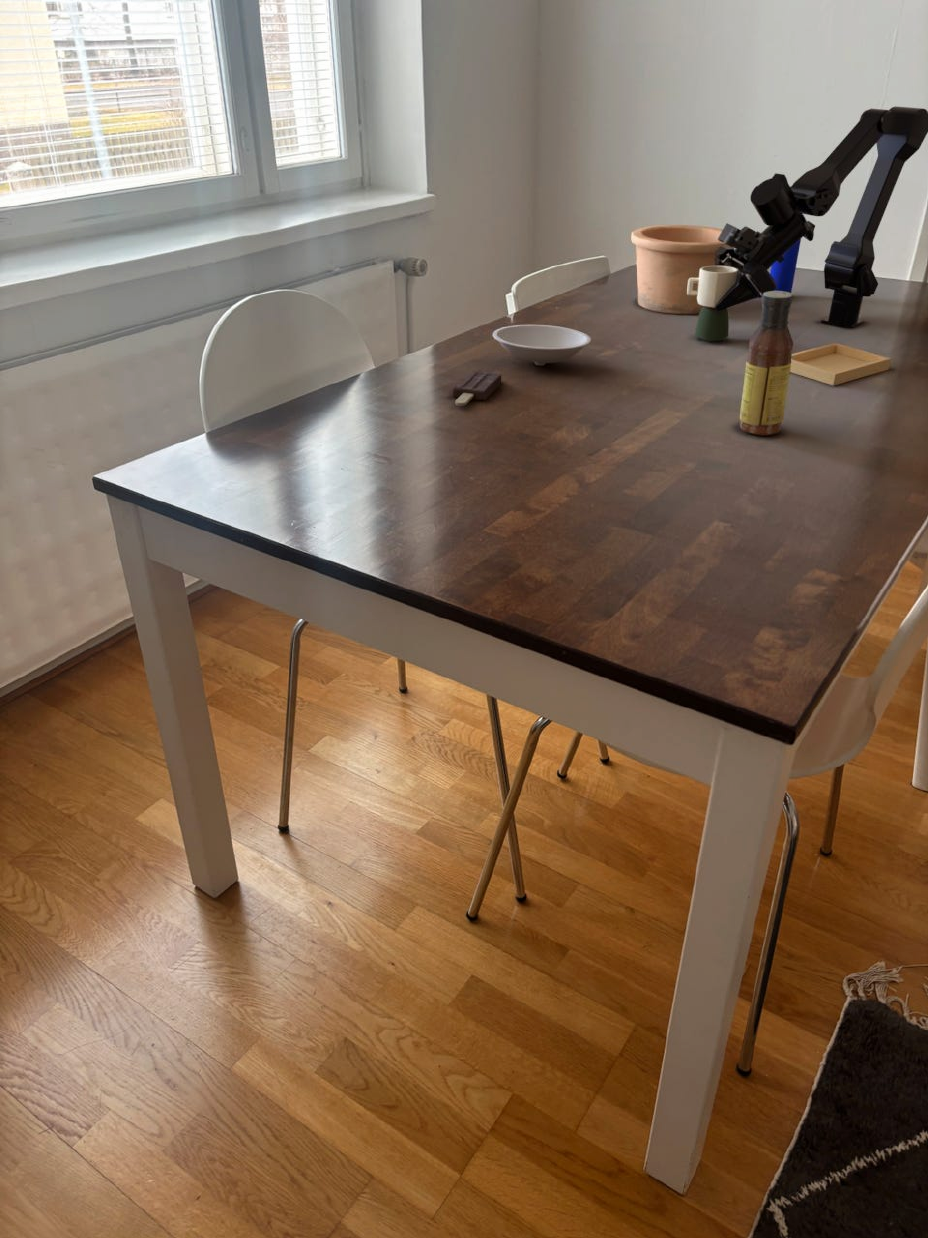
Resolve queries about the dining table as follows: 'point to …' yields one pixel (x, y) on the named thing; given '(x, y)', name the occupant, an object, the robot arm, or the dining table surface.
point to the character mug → (712, 300)
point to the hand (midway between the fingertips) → (708, 303)
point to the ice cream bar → (476, 386)
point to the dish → (541, 342)
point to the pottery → (672, 265)
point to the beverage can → (786, 269)
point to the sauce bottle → (768, 367)
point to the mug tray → (837, 363)
